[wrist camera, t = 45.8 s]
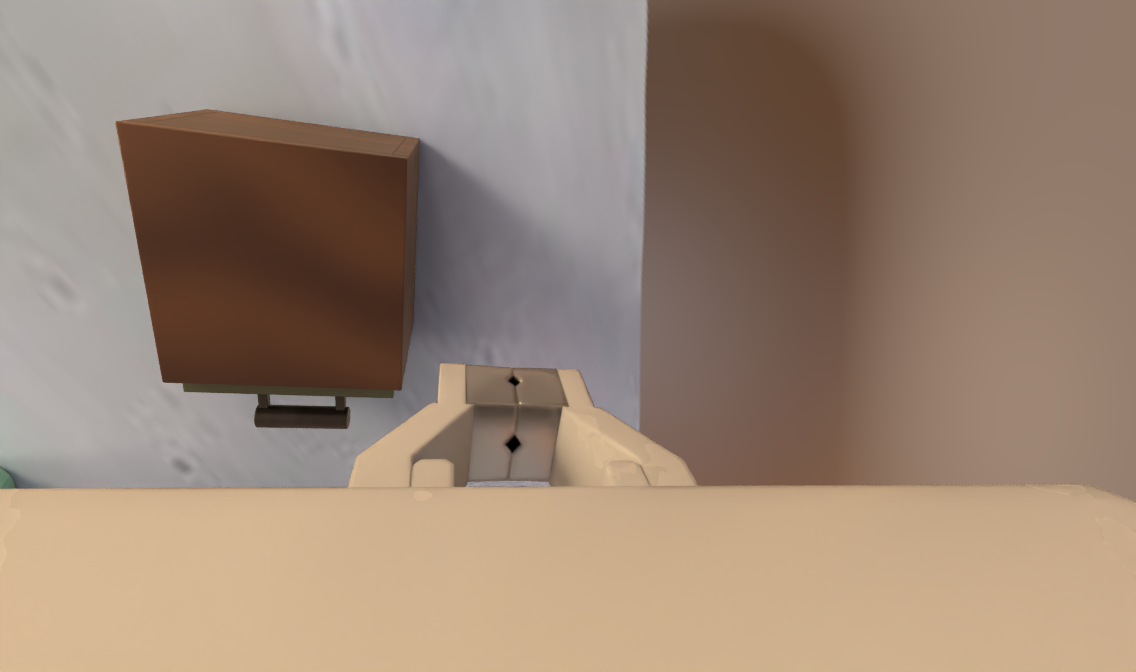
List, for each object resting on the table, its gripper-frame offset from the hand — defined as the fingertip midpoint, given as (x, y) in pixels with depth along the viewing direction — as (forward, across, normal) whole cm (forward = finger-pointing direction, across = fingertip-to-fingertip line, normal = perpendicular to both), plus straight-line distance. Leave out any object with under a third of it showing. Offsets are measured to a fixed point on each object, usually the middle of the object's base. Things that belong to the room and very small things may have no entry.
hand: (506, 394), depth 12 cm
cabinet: (+32, +11, +6) cm, 35 cm away
